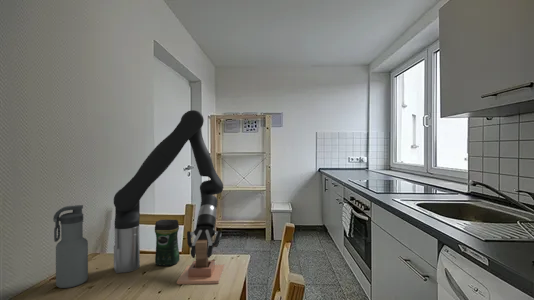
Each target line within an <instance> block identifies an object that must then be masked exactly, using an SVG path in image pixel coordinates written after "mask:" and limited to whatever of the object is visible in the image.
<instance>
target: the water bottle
mask: <svg viewBox="0 0 534 300" xmlns="http://www.w3.org/2000/svg"><path fill="white" fill-rule="evenodd" d="M83 209H84V205H83V204H78V205H77V204H75V205H67V206H63V207H61V208H60V209H58V210H56V212H55V213H54V215H53V219H52V220H53V222H54V223H55V225H54V226H55V227H54V229H53V241H54V242H55V243H56V246H55V285H56V287H58V288H60V289H70V288H74V287H77V286H81V285H82V284H84V283H86V282H87V281H88V278H89V241H88V240H87V239H86V238H85V237H84V234H83V233H84V230H83V229H84V227H83V226H84V225H83V224H84V223H83V222H84V213H83ZM66 211H67V212H68V211H70V212H68V213H67V212H66ZM63 212H64V213H63ZM65 212H66V213H65ZM62 213H63V214H62ZM61 214H62V215H61ZM60 239H61V240H60ZM57 242H58V243H57Z"/></svg>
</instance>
